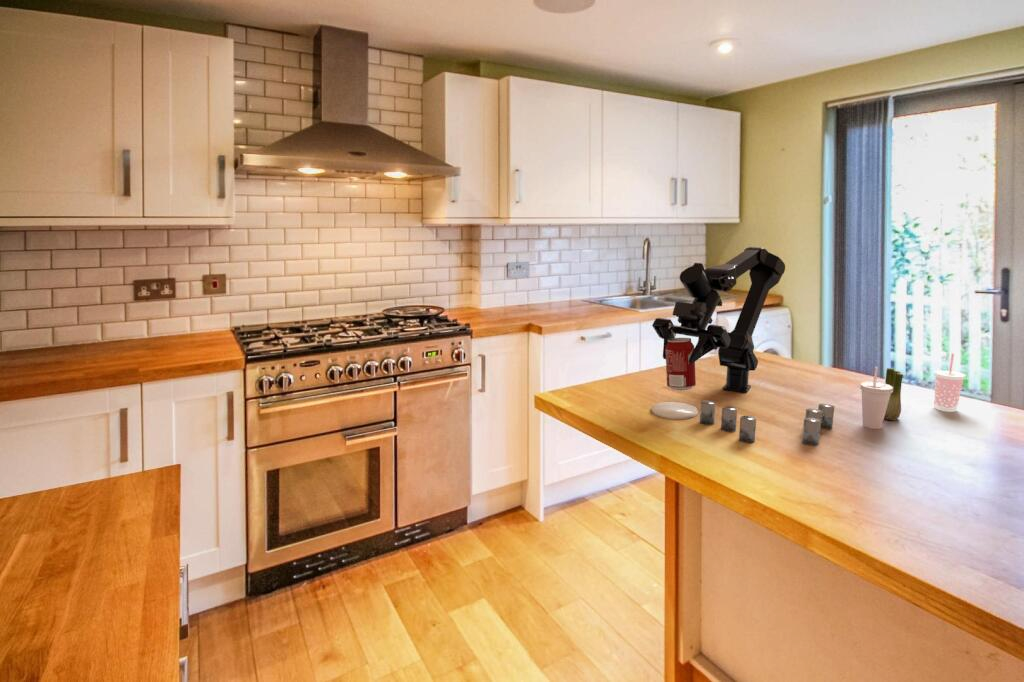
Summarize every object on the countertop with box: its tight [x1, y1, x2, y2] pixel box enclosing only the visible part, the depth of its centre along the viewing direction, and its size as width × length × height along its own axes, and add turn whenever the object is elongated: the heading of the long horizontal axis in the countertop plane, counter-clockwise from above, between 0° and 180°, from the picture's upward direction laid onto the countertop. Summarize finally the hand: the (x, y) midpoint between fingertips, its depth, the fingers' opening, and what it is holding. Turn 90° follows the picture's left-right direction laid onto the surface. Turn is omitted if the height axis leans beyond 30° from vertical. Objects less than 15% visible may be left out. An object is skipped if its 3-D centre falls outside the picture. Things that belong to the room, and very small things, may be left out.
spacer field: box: [699, 399, 835, 446], centre depth 135 cm, size 14×29×5 cm, turn 82°
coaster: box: [651, 401, 699, 420], centre depth 151 cm, size 11×11×1 cm
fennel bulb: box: [884, 367, 904, 421], centre depth 143 cm, size 6×5×12 cm
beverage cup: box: [933, 352, 966, 413], centre depth 149 cm, size 6×6×14 cm
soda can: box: [665, 337, 697, 391], centre depth 147 cm, size 7×7×12 cm
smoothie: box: [859, 366, 893, 430], centre depth 138 cm, size 6×6×14 cm
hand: (676, 360), depth 147 cm, fingers closed on soda can, 7 cm apart
